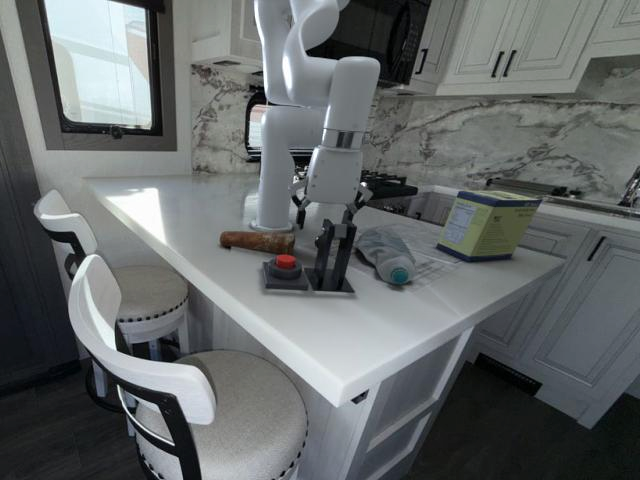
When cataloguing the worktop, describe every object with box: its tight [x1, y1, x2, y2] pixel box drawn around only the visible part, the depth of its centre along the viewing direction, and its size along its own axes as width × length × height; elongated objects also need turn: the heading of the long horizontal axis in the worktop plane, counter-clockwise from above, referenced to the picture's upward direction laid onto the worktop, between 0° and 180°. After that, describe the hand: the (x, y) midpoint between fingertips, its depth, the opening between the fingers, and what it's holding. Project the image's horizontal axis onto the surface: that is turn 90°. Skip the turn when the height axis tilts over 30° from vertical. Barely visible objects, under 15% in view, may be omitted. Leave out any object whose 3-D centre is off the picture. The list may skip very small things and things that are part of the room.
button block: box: [261, 257, 310, 291], centre depth 61 cm, size 10×8×4 cm
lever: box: [314, 223, 347, 249], centre depth 62 cm, size 13×3×3 cm, turn 0°
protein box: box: [435, 190, 543, 263], centre depth 80 cm, size 10×16×16 cm
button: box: [276, 254, 296, 269], centre depth 60 cm, size 4×4×2 cm
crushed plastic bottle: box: [355, 226, 417, 285], centre depth 69 cm, size 13×7×25 cm
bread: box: [219, 230, 297, 256], centre depth 75 cm, size 6×19×6 cm, turn 71°
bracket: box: [303, 218, 358, 294], centre depth 59 cm, size 10×8×13 cm
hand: (321, 228), depth 67 cm, fingers open, 9 cm apart
